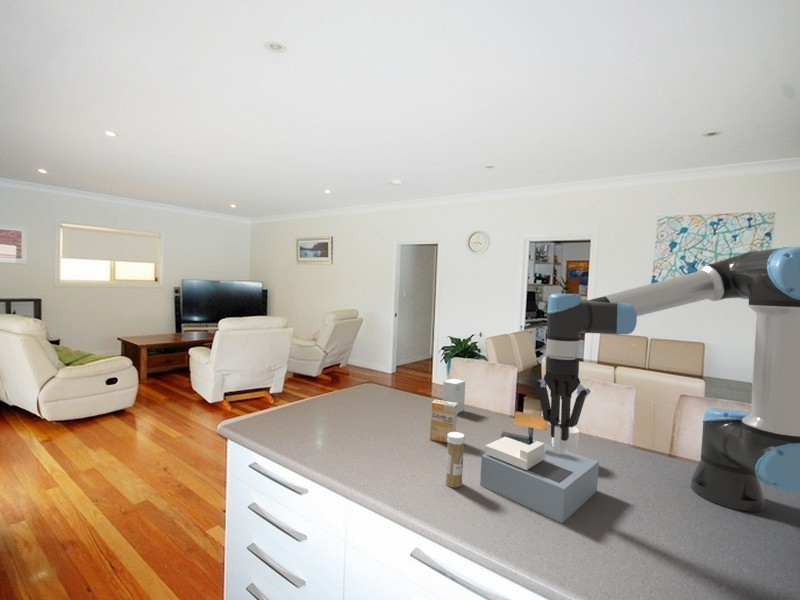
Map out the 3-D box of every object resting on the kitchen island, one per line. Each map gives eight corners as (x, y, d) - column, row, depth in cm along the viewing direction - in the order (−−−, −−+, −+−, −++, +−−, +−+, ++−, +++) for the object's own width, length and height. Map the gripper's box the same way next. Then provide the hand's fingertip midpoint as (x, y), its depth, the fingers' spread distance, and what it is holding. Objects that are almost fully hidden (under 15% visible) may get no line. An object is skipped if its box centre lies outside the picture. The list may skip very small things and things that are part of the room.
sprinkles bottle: (460, 489, 101) (463, 438, 101) (443, 486, 103) (446, 436, 102) (463, 481, 106) (465, 432, 105) (446, 478, 107) (449, 430, 107)
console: (596, 490, 104) (598, 459, 104) (562, 523, 88) (564, 487, 88) (521, 461, 120) (522, 434, 119) (480, 485, 104) (481, 454, 104)
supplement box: (429, 440, 133) (431, 402, 133) (433, 435, 138) (435, 398, 137) (452, 444, 130) (454, 406, 130) (456, 439, 135) (458, 402, 134)
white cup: (580, 467, 118) (582, 434, 117) (552, 463, 119) (554, 431, 119) (573, 456, 125) (575, 425, 125) (548, 453, 127) (549, 422, 126)
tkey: (546, 447, 109) (547, 419, 109) (501, 438, 115) (502, 411, 114) (547, 444, 111) (548, 417, 111) (502, 435, 117) (504, 409, 116)
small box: (451, 407, 170) (453, 378, 170) (464, 410, 166) (465, 380, 166) (441, 411, 164) (443, 381, 163) (454, 415, 160) (456, 384, 159)
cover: (545, 458, 103) (545, 443, 103) (526, 470, 96) (527, 453, 96) (504, 444, 111) (505, 429, 111) (484, 453, 104) (485, 438, 104)
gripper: (596, 358, 93) (592, 455, 94) (543, 351, 103) (540, 439, 103) (584, 362, 88) (580, 465, 89) (530, 354, 97) (527, 447, 98)
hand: (559, 451), depth 96 cm, fingers closed
